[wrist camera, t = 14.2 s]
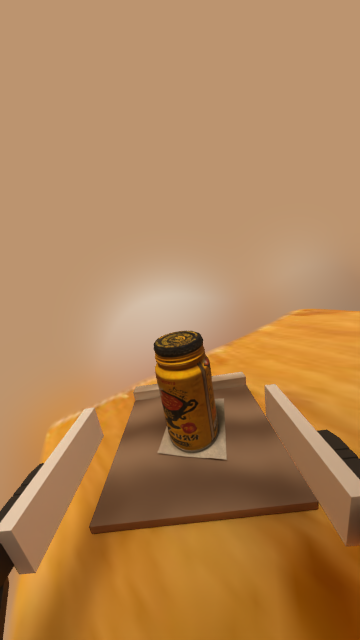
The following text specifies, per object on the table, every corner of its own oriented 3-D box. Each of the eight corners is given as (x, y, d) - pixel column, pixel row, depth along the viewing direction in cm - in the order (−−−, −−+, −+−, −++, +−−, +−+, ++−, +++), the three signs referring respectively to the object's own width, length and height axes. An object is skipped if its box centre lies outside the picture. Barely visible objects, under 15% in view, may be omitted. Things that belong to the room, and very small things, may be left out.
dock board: (318, 509, 13) (319, 487, 13) (91, 533, 14) (83, 514, 13) (243, 383, 29) (242, 371, 28) (138, 398, 29) (135, 386, 29)
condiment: (157, 454, 18) (132, 353, 16) (175, 399, 26) (161, 326, 24) (226, 461, 17) (213, 349, 14) (224, 400, 25) (215, 321, 22)
